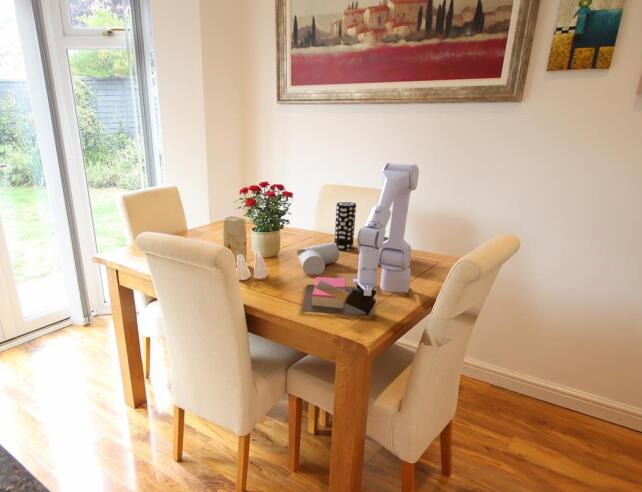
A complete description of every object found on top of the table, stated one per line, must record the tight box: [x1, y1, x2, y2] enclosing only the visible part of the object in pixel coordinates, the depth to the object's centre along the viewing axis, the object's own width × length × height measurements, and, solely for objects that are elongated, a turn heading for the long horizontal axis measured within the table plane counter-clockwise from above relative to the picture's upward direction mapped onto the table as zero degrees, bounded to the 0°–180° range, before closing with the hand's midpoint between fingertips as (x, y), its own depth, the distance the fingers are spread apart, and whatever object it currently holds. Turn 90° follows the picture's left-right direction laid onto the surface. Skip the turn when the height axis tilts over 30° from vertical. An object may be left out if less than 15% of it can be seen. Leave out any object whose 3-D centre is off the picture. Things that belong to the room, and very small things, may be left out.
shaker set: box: [236, 251, 269, 281], centre depth 173 cm, size 12×4×11 cm, turn 85°
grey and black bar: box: [316, 280, 377, 314], centre depth 142 cm, size 18×2×4 cm, turn 79°
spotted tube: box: [333, 201, 357, 252], centre depth 204 cm, size 8×8×20 cm
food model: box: [222, 216, 248, 265], centre depth 187 cm, size 10×7×20 cm
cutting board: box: [301, 284, 375, 317], centre depth 153 cm, size 22×23×1 cm
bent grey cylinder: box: [296, 241, 340, 275], centre depth 183 cm, size 18×11×20 cm
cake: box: [313, 276, 346, 291], centre depth 157 cm, size 10×8×4 cm
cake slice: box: [312, 289, 344, 308], centre depth 149 cm, size 10×4×4 cm, turn 73°
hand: (364, 308), depth 142 cm, fingers closed on grey and black bar, 2 cm apart
